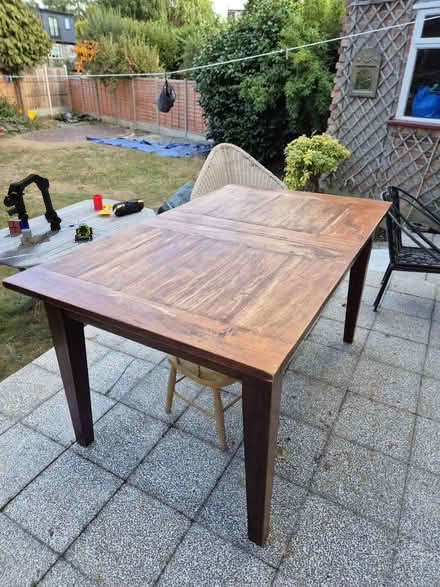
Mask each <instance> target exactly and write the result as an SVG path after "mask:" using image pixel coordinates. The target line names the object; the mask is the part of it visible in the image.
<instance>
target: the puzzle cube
mask: <svg viewBox="0 0 440 587" xmlns="http://www.w3.org/2000/svg"><path fill="white" fill-rule="evenodd" d="M6 222H7V226H8V230H9V233H11V234H12V233H13V234H22V231H21V230H23V229H29V228H30V224H29V219H27V224H26V226H25V227H24V225H23V223H22V221H21V220H19V219H18V216H14V217H11V218H10V219H8V220H6ZM30 229H31V228H30Z"/></svg>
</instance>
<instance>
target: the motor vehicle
mask: <svg viewBox="0 0 440 587" xmlns="http://www.w3.org/2000/svg"><path fill="white" fill-rule="evenodd" d="M79 220H80V219H78V221H77V222H80V221H79ZM75 233H76V235H74V241H75V242H79V239H87V238H88V239H89V240H90V241H93V240H94V237H93V236H94V235H93V234H94V232H93V227H92V226H88V225H87V223H84V222H83V223H79V225H78V227H76V228H75Z"/></svg>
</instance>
